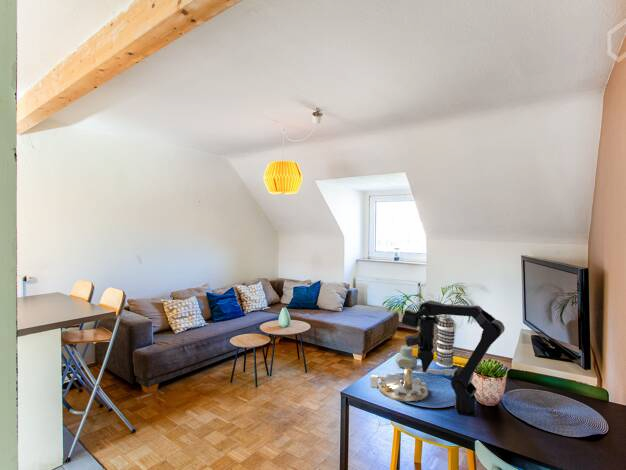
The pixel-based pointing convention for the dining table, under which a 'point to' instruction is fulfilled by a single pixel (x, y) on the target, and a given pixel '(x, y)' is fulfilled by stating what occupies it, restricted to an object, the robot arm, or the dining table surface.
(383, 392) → the sprocket base
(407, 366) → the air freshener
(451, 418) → the dining table surface
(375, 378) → the pointer post
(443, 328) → the decorative candle
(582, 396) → the dining table surface
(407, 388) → the sprocket
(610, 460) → the dining table surface
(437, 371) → the caliper
